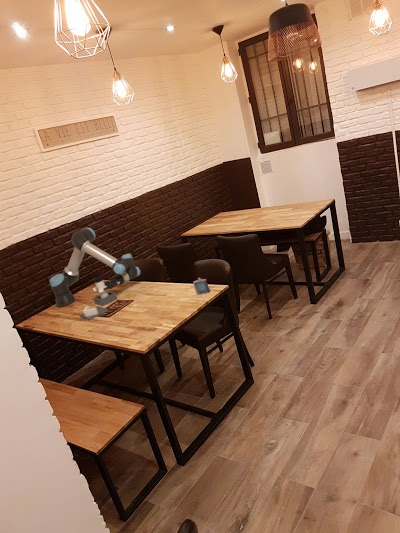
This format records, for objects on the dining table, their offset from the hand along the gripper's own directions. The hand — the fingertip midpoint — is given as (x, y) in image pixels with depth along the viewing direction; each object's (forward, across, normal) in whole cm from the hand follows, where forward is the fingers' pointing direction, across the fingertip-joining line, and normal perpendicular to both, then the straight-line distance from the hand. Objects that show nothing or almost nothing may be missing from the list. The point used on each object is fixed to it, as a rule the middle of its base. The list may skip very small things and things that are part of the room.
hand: (96, 290), depth 297 cm
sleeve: (-5, 0, -11) cm, 12 cm away
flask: (-39, -74, -11) cm, 84 cm away
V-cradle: (+12, -12, -11) cm, 20 cm away
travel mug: (-5, 0, -11) cm, 12 cm away
